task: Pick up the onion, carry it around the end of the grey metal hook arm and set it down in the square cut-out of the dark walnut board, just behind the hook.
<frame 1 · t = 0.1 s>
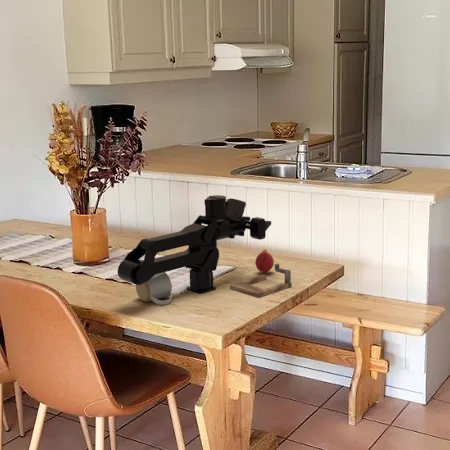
hand: (260, 220, 223), 17 cm above the table, tool horizontal, fingers open, 9 cm apart
onion: (264, 274, 223), on the table
ceramic mug: (157, 300, 201), on the table
walnut board: (260, 287, 210), on the table
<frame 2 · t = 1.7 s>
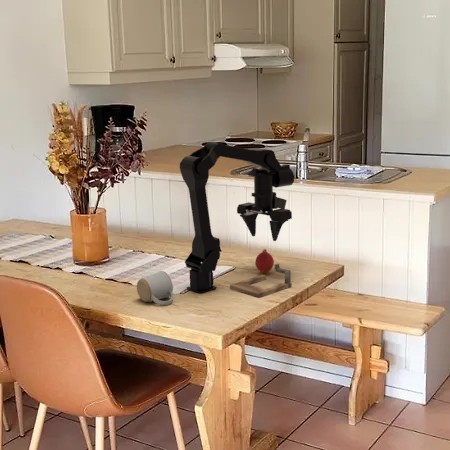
hand: (264, 238, 221), 11 cm above the table, tool pointing down, fingers open, 9 cm apart
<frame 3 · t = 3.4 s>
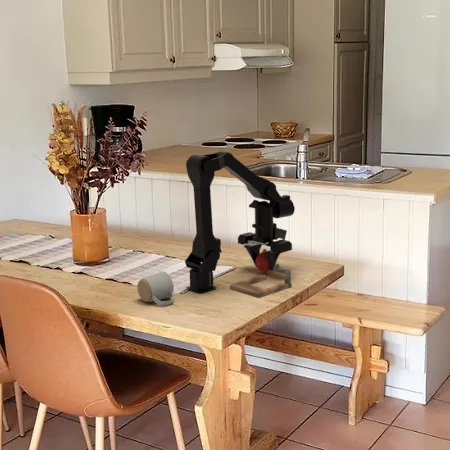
hand: (264, 268, 223), 2 cm above the table, tool pointing down, fingers closed on onion, 6 cm apart
onion: (264, 274, 223), on the table, touching gripper
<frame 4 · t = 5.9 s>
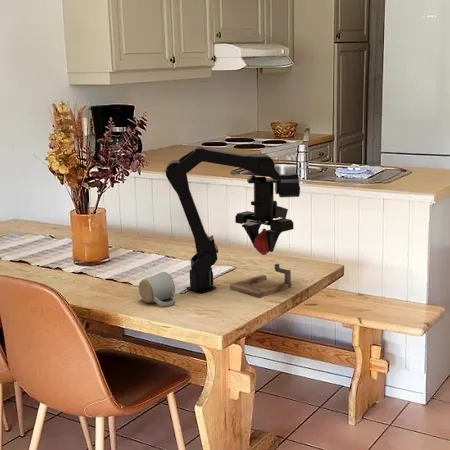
hand: (263, 249, 208), 11 cm above the table, tool pointing down, fingers closed on onion, 6 cm apart
onion: (263, 255, 209), point 10 cm above the table, touching gripper
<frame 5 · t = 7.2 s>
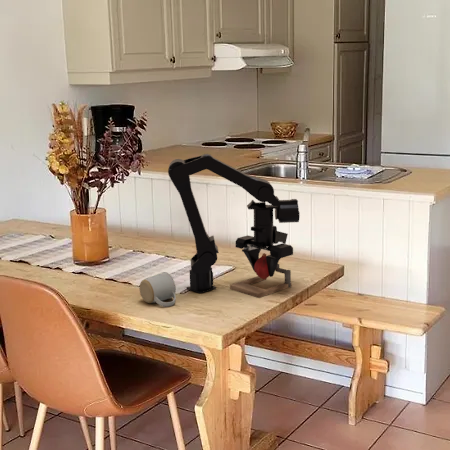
hand: (263, 274, 210), 4 cm above the table, tool pointing down, fingers closed on onion, 6 cm apart
onion: (264, 280, 210), point 2 cm above the table, touching gripper
when the fingers open (3 cm above the table, at t = 8.2 s): onion drops 2 cm, on the table.
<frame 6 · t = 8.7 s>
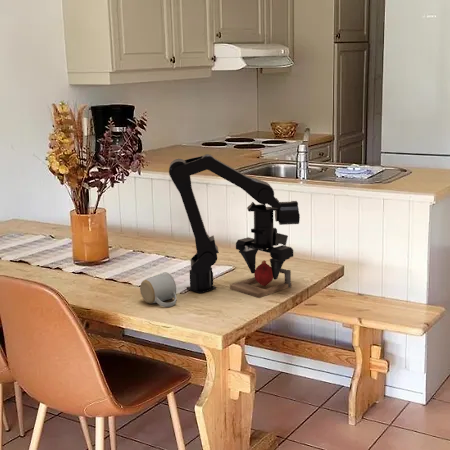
hand: (264, 276, 210), 3 cm above the table, tool pointing down, fingers open, 9 cm apart
onion: (264, 287, 211), on the table
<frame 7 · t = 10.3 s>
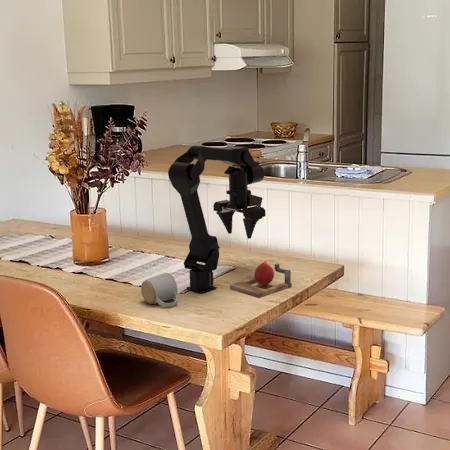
hand: (239, 236, 222), 12 cm above the table, tool pointing down, fingers open, 9 cm apart
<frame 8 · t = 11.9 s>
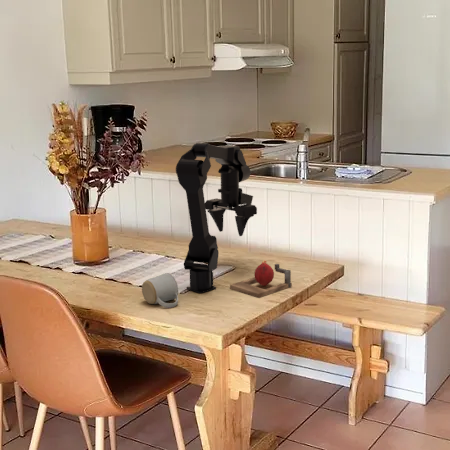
hand: (230, 233, 226), 12 cm above the table, tool pointing down, fingers open, 9 cm apart
at the end: onion inside the target area (0.1 cm from its centre), on the table; the gripper is holding nothing; onion touching table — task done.
